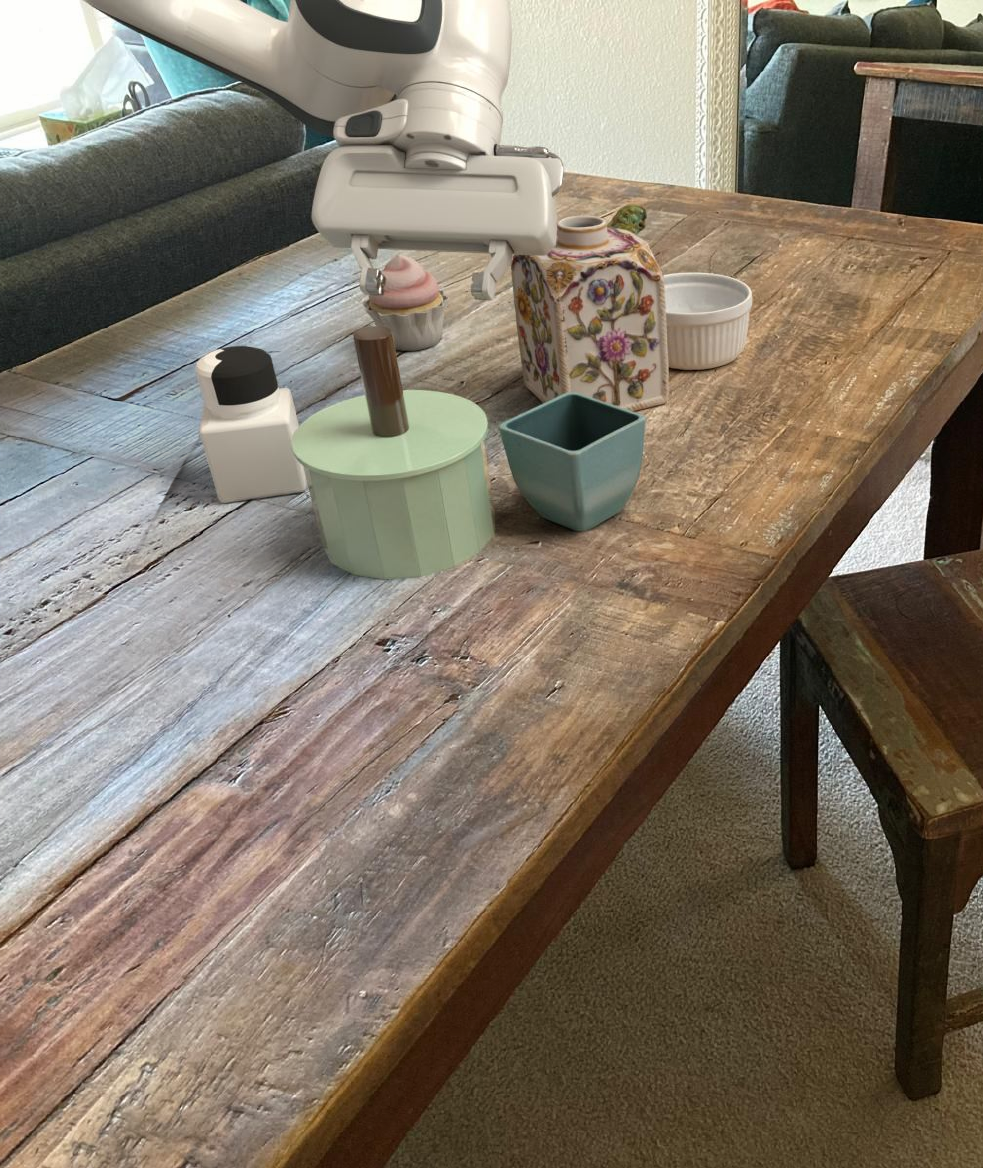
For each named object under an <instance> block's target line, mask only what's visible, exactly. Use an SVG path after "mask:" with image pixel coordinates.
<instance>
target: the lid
mask: <svg viewBox="0 0 983 1168" xmlns="http://www.w3.org/2000/svg"><path fill="white" fill-rule="evenodd" d="M352 339H353V343H354V348H355V353H356V359H357V363H358V369H359V372H360V378H361V383H362V387H363V393H364V395H359V396H354V397H352V398H348V399H345V400H341V401H339V402H337V403H334V404H330V405H329V406H327V407H324V408H323V409H321V410H319V411H317V412H315V413H313V414H312V415H310V416H309V417H307V418H306V419H305V420H304V421H302V422H301V423H300V424H299V427H298V428H297V429H296V430H295V432H294V434H293V436H292V440H291V447H292V451H293V454H294V457H295V458H296V459H297V461H298V462H299V463H300V464H301V465H303V466H304V467H305V468H307V469H309V470H311V471H313V472H315V473H318V474H320V475H324V476H328V477H332V478H338V479H344V480H354V481H378V480H391V479H399V478H405V477H411V476H415V475H420V474H424V473H427V472H431V471H434V470H437V469H440V468H443V467H445V466H448V465H450V464H452V463H455V462H457V461H458V460H460V459H462V458H464V457H466V456H467V455H469V454H470V453H471V452H473V451H474V450H475V449H476V448H477V447H479V446H480V444H481V443H482V442H483V441H484V442H485V439H486V437H487V436H488V433H489V432H488V431H489V420H488V417H487V415H486V413H485V411H484V410H483V409H482V408H481V407H480V406H479V405H478V404H476V403H475V402H474V401H472V400H470V399H467V398H466V397H463V396H459V395H457V394H453V393H448V392H443V391H436V390H428V389H427V390H426V389H403V384H402V379H401V373H400V368H399V362H398V356H397V352H396V351H397V350H395V345H394V340H393V335H392V330H391V329H390V328H388V327H384V326H376V325H370V326H365V327H361V328H358V329H356V330H355V331H354V332H353V333H352Z"/></svg>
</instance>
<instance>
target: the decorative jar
mask: <svg viewBox="0 0 983 1168" xmlns="http://www.w3.org/2000/svg"><path fill="white" fill-rule="evenodd" d="M607 225H608V224H607V220H605V219H604V218H602V217H600V216H595V215H572V216H566V217H563V218H561V219H559V220H557V239H556V245H555V247H554V248H553V249H552V250H551V251H550V252H549V253H548V254H547V255H545V256H536V255H512V264H511V266H510V269H511V271H510V272H511V282H512V285H511V286H512V292H513V294H512V295H513V304H514V311H515V321H516V323H515V325H516V332H517V340H518V348H519V356H520V363H521V371H522V377H523V383H524V385H525V387H526V388H527V389H528V390H529V391H530V392H532V394H534V395H535V396H536V397H537V398H538V400H539V401H541V402H542V404H543V403H546V402H548V401H550V400H552V399H554V398H556V397H558V396H560V395H562V394H565V393H567V392H577V393H580V394H583V395H586V396H589V397H591V398H594V399H597V400H600V401H603V402H606V403H609V404H612V405H615V406H618V407H621V408H624V409H627V410H630V411H633V412H637V411H641V410H644V409H648V408H652V407H657V406H660V405H661V406H662V405H664V404H667V403H668V401H669V395H670V394H669V391H670V389H669V387H670V386H669V383H670V382H669V379H670V378H669V371H670V370H669V369H670V368H669V367H668V347H667V331H666V330H667V328H666V301H665V288H664V279H663V277H664V275H665V274H664V272H663V271H662V270H661V267H660V264H659V261H658V260H657V258H655V256H654V254H653V251H652V249H651V248H650V245H649V244H648V242H647V241H646V240H644V239H643V238H641V237H640V236H639V235H638V234H637V235H636V234H634V233H632V232H630V231H627V230H623V229H615V228H610V227H607Z"/></svg>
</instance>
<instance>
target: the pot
mask: <svg viewBox="0 0 983 1168" xmlns="http://www.w3.org/2000/svg"><path fill="white" fill-rule="evenodd" d="M303 468H304V472H305V476H306V485H307V488H308V493H309V496H310V500H311V503H312V508H313V513H314V517H315V520H316V525H317V529H318V533H319V537H320V540H321V545H322V548H323V551H324V552H325V554H326V556H327V558H328V560H329V562H330V564H331V565H334V566H336V567H338V568H339V569H341V570H343V571H345V572H347V573H348V574H350V575H353V576H358V577H366V578H372V579H379V580H385V581H386V580H396V579H397V580H398V579H411V578H420V577H424V576H428V575H432V574H435V573H438V572H441V571H446V570H449V569H452V568H455V567H457V566H459V565H460V564H462V563H464V562H466V561H467V560H470V559H471V558H473V557H475V556H476V555H478V554H479V553H481V552H482V550H483V549H484V548H485V547H486V546H487V545H488V544H489V542H490V541H491V540H492V539H493V538H495V537H496V514H495V506H494V500H493V493H492V486H491V485H492V484H491V479H490V472H489V465H488V458H487V451H486V445H485V440H484V441H483V442H482V443H481V444H480V446H479V447H477V448H476V449H475V450H474V451H473V452H471V453H470V454H469V455H467V456H466V457H464V458H462V459H460V460H458V461H457V462H455V463H452V464H450V465H448V466H445V467H443V468H440V469H437V470H434V471H431V472H427V473H424V474H420V475H415V476H411V477H405V478H399V479H391V480H378V481H354V480H344V479H338V478H332V477H328V476H324V475H320V474H318V473H315V472H313V471H311V470H309V469H307V468H305V467H304V466H303Z"/></svg>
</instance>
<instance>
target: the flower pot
mask: <svg viewBox="0 0 983 1168" xmlns="http://www.w3.org/2000/svg"><path fill="white" fill-rule="evenodd" d="M646 422H647V416H646V415H643V414H641V413H639V412H637V411H630V410H627V409H624V408H621V407H618V406H615V405H612V404H609V403H606V402H603V401H600V400H597V399H594V398H591V397H589V396H586V395H583V394H580V393H577V392H567V393H565V394H562V395H560V396H558V397H556V398H554V399H552V400H550V401H548V402H546V403H543V402H542V404H540V405H538V406H537V405H536V406H535V407H533V408H531V409H529V410H527V411H524V412H522V413H520V414H518V415H516V416H513V417H512V418H510V419H507V420H505V421H504V422H502V423H500V424H499V425H498V430H499V433H500V437H501V442H502V445H503V449H504V452H505V455H506V460H507V462H508V463H507V464H508V466H509V470H510V473H511V475H512V479H513V480H514V483H515V485H516V487H517V488H518V490H519V492H520V494H521V495H522V497H523V499H525V500H526V502H527V503H528V504H529V506H531V508H533V510H534V511H535V512H536V513H537V514H538V515H539V516H540V517H542V518H543V519H545V520H548V521H551V522H553V523H555V524H557V525H560V526H563V527H564V528H567V529H569V530H572V531H573V532H580V533H581V532H582V533H583V532H586V531H587V532H588V531H590V530H592V529H593V528H595V527H597V526H598V525H600V524H602V523H603V522H605V521H607V520H608V519H611V518H612V517H613V516H615V515H617V514H619V513H620V512H621V511H622V510H623V509H624V507H625V506H626V504H627V503H628V501H629V500H630V498H631V496H632V495H633V493H634V490H635V488H636V486H637V484H638V481H639V478H640V474H641V470H642V465H643V456H644V447H645V434H646Z"/></svg>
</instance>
